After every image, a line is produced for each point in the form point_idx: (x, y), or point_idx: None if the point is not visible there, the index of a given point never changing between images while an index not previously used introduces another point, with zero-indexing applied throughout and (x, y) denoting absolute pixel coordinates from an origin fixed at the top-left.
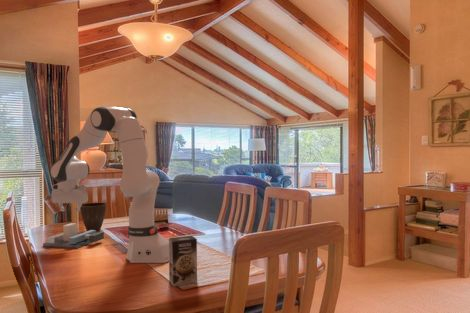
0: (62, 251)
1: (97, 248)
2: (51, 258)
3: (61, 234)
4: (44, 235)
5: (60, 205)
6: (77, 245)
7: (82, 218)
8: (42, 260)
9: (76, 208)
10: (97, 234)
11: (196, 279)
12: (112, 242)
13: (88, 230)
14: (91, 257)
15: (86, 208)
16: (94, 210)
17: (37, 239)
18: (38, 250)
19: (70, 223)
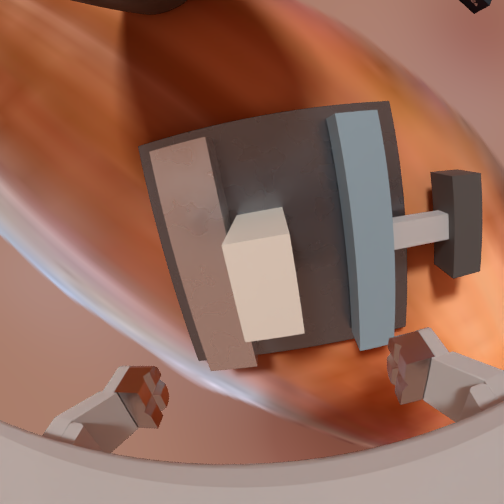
0: (364, 369)
1: (478, 278)
2: (383, 422)
3: (221, 296)
4: (13, 195)
5: (102, 447)
6: (405, 322)
7: (78, 1)
8: (368, 439)
9: (414, 400)
10: (481, 240)
11: None
12: (485, 166)
13: (156, 12)
14: (496, 359)
15: None
16: None
17: (51, 264)
18: (245, 393)
19: (231, 259)
